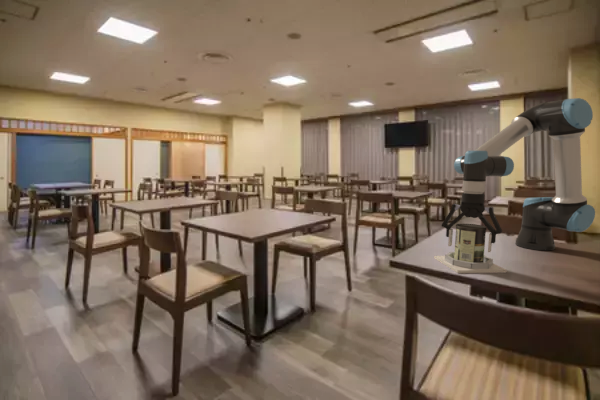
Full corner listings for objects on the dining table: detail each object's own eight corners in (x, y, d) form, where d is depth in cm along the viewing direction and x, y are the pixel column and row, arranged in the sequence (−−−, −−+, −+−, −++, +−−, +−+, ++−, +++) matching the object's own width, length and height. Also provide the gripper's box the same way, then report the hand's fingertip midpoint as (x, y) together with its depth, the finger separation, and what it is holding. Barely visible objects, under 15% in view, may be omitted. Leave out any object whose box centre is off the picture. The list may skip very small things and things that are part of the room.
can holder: (477, 257, 140) (477, 250, 140) (506, 272, 123) (506, 264, 122) (434, 258, 139) (434, 251, 139) (457, 273, 121) (458, 264, 121)
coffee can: (478, 259, 135) (481, 224, 133) (487, 267, 125) (490, 229, 123) (450, 257, 137) (453, 222, 135) (456, 265, 127) (459, 227, 125)
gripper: (513, 194, 123) (508, 251, 126) (440, 189, 138) (437, 241, 140) (511, 195, 117) (506, 256, 120) (435, 191, 132) (432, 245, 134)
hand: (469, 248), depth 130 cm, fingers open, 13 cm apart
